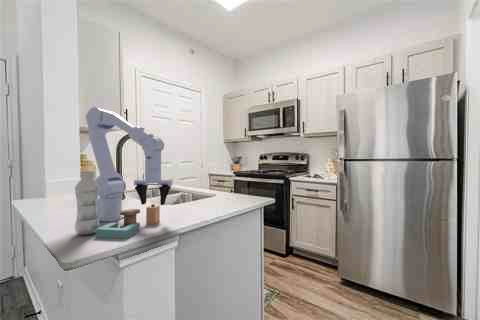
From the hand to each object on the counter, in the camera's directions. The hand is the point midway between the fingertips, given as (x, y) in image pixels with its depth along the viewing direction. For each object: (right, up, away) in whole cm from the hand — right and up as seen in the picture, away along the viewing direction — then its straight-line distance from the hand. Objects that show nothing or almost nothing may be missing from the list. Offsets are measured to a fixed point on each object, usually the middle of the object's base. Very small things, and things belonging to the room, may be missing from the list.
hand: (153, 204), depth 84 cm
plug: (0, -7, 0) cm, 7 cm away
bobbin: (-6, -7, -6) cm, 11 cm away
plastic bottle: (-16, -7, -13) cm, 22 cm away
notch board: (-6, -7, -13) cm, 16 cm away
